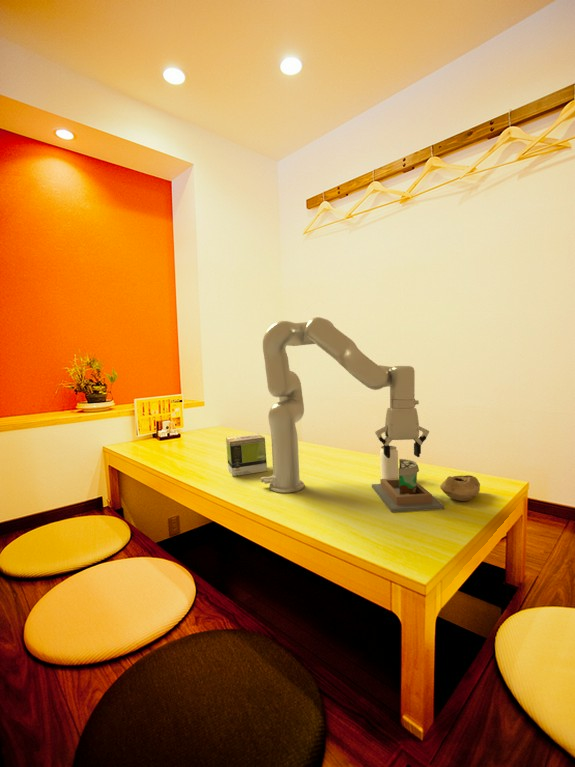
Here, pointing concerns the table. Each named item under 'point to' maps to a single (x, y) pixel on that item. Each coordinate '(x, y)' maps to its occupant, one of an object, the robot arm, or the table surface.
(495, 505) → the table surface
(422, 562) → the table surface
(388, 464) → the can
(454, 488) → the oil lamp
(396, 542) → the table surface
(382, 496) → the tray
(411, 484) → the food container
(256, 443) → the tea box
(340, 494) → the table surface
